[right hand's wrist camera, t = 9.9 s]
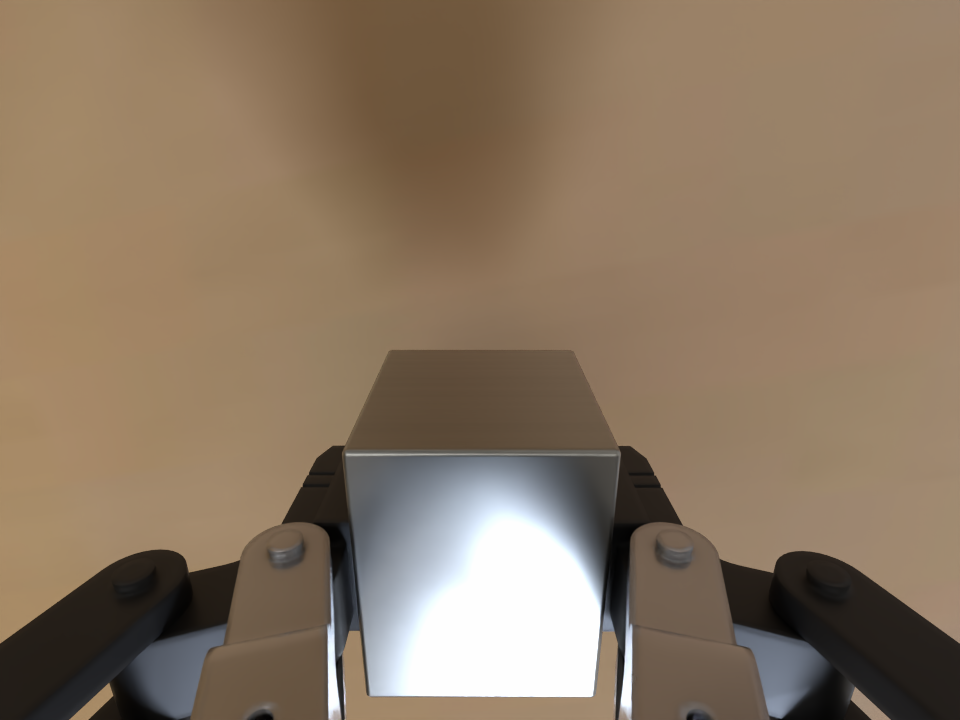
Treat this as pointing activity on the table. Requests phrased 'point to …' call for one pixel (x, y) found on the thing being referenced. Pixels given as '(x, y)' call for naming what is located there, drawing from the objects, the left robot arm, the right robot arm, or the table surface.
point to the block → (481, 524)
